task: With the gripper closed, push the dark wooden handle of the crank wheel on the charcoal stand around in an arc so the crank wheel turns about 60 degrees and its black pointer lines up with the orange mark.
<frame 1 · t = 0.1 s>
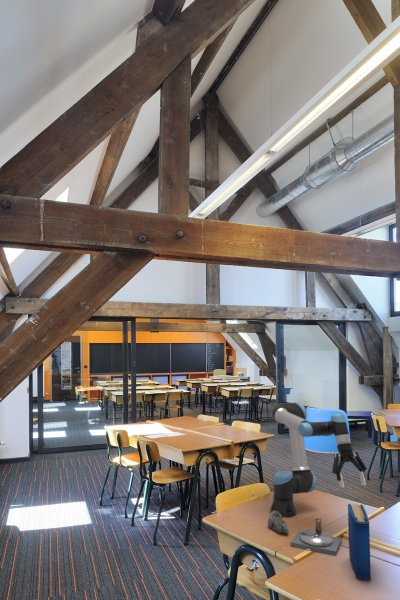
hand: (353, 486, 227), 28 cm above the table, tool tilted 20°, fingers open, 13 cm apart
book: (360, 570, 197), on the table
stand: (316, 544, 222), on the table
crank wheel: (316, 531, 223), point 6 cm above the table, hinge at 0.0°
mineral rock: (278, 531, 238), on the table
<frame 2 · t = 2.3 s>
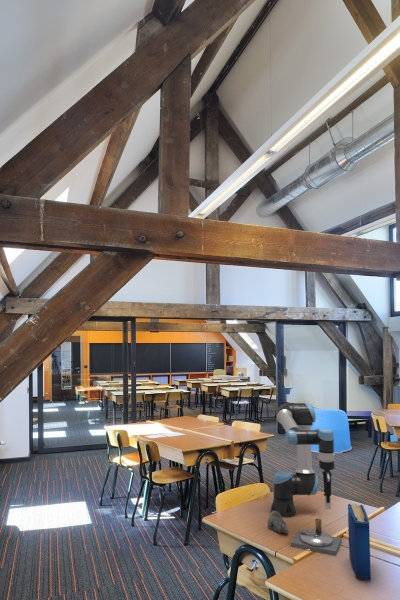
hand: (327, 508, 223), 18 cm above the table, tool pointing down, fingers closed
nothing on the table moved.
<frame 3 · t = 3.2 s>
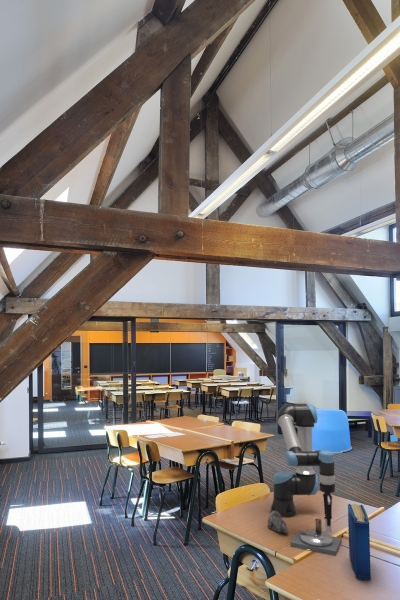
hand: (328, 531, 222), 7 cm above the table, tool pointing down, fingers closed
nothing on the table moved.
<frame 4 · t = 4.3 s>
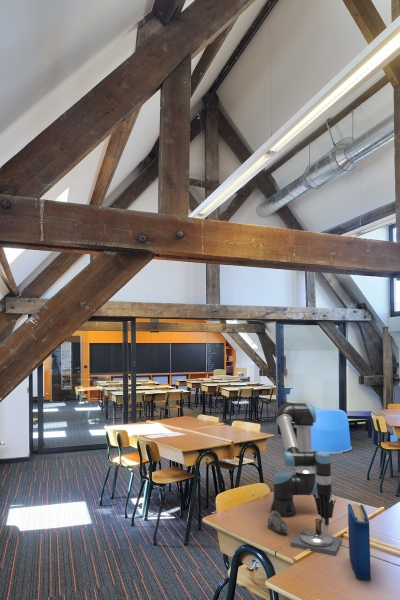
hand: (325, 530, 226), 5 cm above the table, tool pointing down, fingers closed
crank wheel: (316, 531, 223), point 6 cm above the table, hinge at 0.3°, touching gripper
everything else where it was.
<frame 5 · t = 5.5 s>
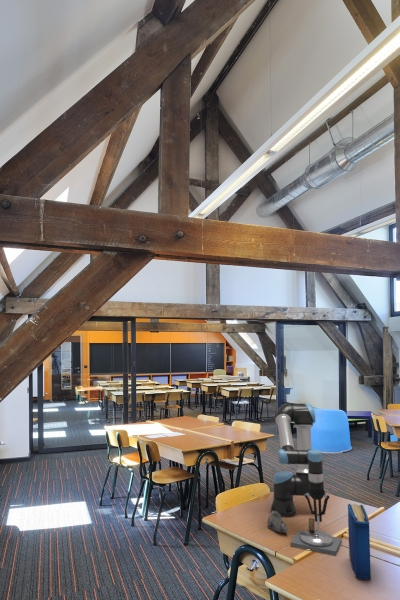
hand: (318, 528, 229), 6 cm above the table, tool pointing down, fingers closed
crank wheel: (316, 531, 223), point 6 cm above the table, hinge at 34.2°, touching gripper
everything else where it was.
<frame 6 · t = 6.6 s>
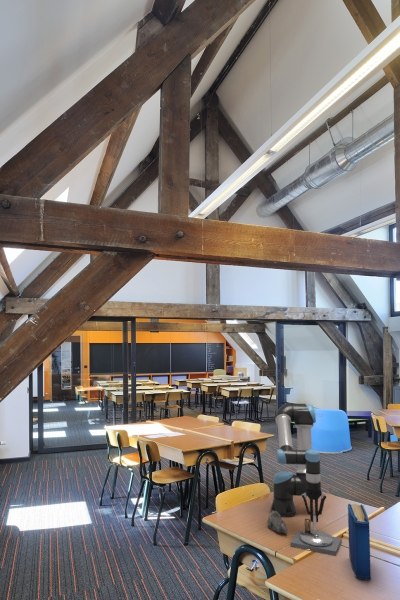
hand: (314, 528, 229), 6 cm above the table, tool pointing down, fingers closed
crank wheel: (316, 531, 223), point 6 cm above the table, hinge at 57.2°
everything else where it was.
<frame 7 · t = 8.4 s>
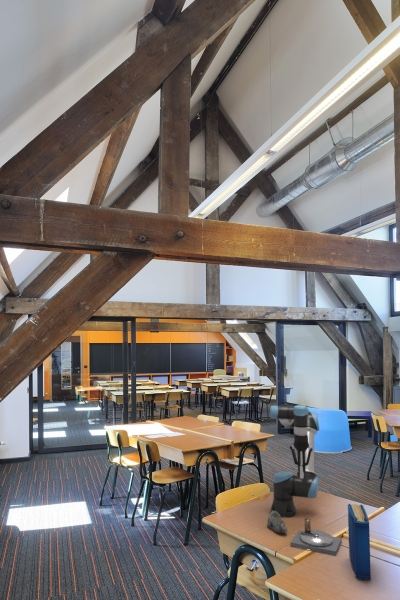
hand: (301, 477, 243), 28 cm above the table, tool pointing down, fingers closed
nothing on the table moved.
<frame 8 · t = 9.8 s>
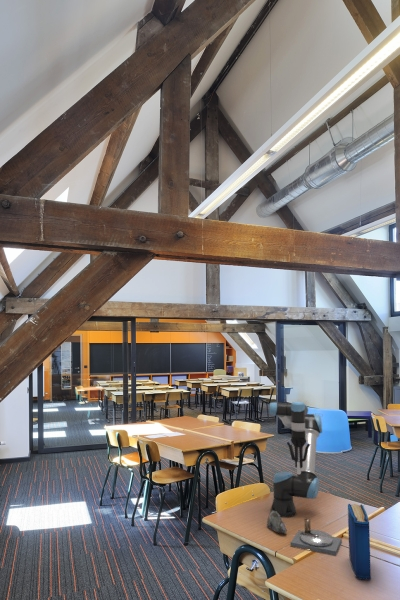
hand: (299, 473, 244), 29 cm above the table, tool pointing down, fingers closed
nothing on the table moved.
at the end: crank wheel at +57° (first picture: +0°); mineral rock moved 0.9 cm from its start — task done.
